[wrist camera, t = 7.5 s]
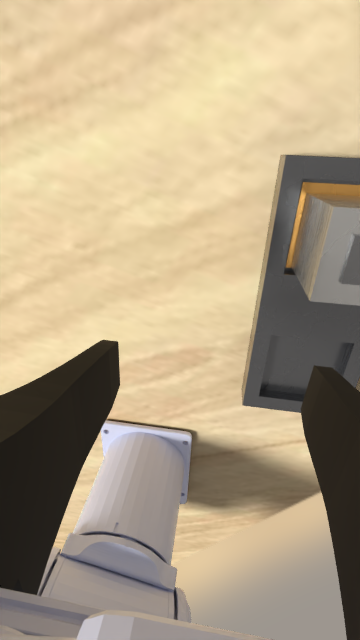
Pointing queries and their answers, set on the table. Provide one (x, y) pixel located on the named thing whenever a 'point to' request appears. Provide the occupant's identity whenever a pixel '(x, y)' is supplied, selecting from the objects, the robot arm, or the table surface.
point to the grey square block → (329, 249)
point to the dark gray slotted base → (298, 296)
